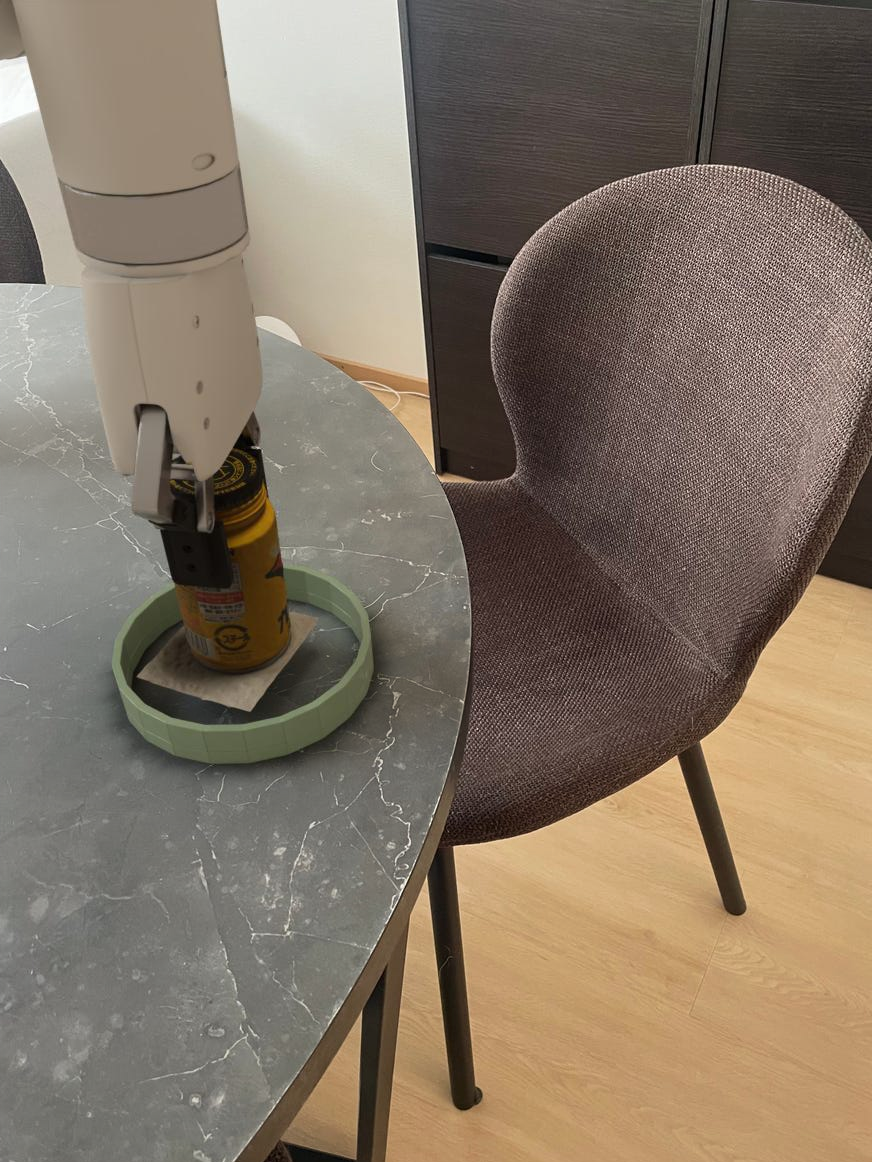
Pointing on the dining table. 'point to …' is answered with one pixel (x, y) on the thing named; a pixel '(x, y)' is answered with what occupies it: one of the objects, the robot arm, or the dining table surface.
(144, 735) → the green faceted hoop
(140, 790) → the dining table surface
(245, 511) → the yellow coffee can
